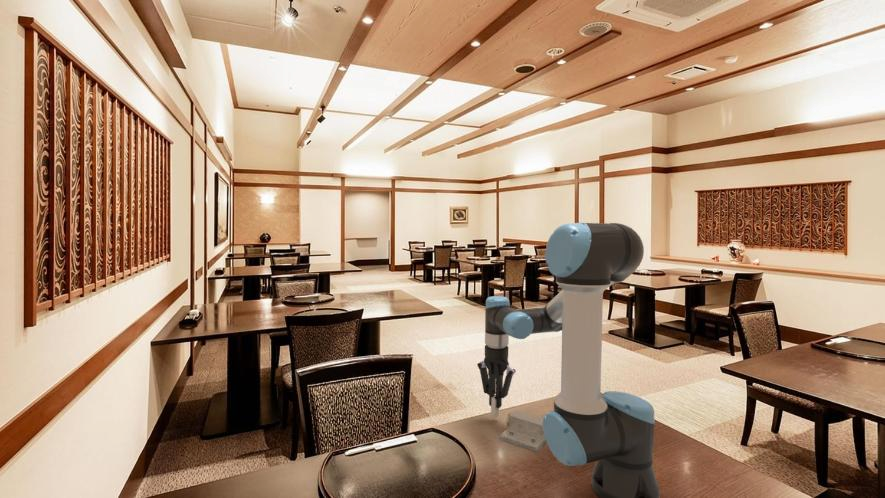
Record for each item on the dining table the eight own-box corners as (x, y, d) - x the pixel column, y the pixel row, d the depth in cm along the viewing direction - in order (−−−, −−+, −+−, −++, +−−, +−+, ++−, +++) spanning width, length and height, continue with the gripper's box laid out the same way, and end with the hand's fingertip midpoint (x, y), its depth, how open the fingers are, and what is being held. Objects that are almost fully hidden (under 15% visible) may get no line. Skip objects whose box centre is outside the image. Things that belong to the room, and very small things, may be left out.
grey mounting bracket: (558, 428, 134) (559, 412, 133) (537, 452, 120) (537, 435, 119) (523, 417, 140) (523, 403, 140) (499, 439, 127) (499, 422, 126)
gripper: (520, 346, 135) (518, 417, 137) (485, 338, 142) (483, 406, 144) (509, 351, 129) (507, 426, 131) (473, 343, 136) (471, 414, 138)
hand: (495, 416), depth 137 cm, fingers closed
